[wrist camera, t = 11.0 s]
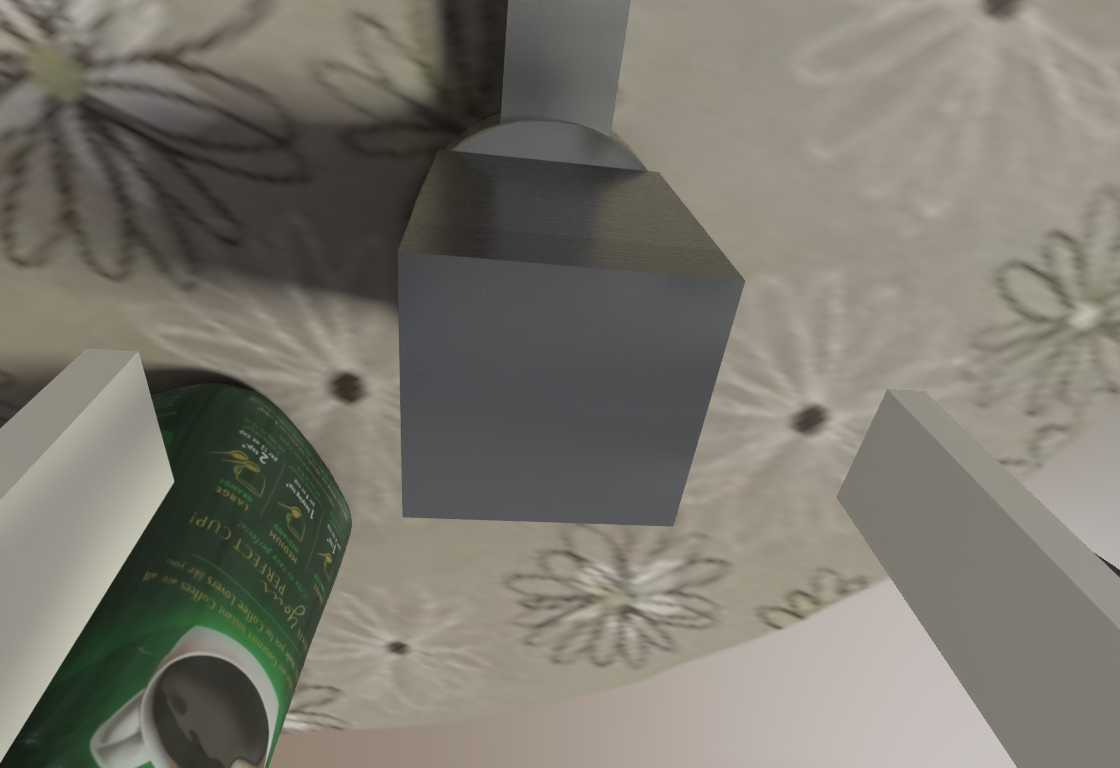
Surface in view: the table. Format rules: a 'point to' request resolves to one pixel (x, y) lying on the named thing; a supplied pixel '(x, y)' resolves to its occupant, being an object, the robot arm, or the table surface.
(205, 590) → the coffee jar
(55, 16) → the table surface
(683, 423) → the grey rectangular block
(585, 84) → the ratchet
